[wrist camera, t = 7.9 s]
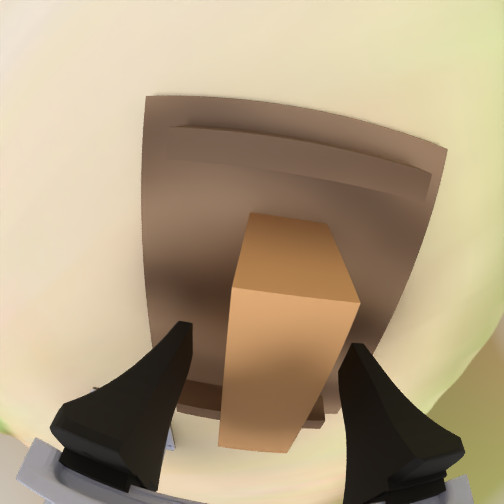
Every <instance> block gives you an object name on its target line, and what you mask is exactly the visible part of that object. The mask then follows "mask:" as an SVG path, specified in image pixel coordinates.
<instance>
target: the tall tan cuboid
mask: <svg viewBox="0 0 504 504" xmlns="http://www.w3.org/2000/svg"><path fill="white" fill-rule="evenodd" d="M359 306H360V300H359V298H358V295H357V293H356V290H355V288H354V285H353V283H352V280H351V278H350V275H349V273H348V271H347V268H346V266H345V263H344V261H343V259H342V256H341V254H340V252H339V250H338V247H337V245H336V243H335V240H334V238H333V236H332V234H331V232H330V229H329V227H328V225H327V224H325V223H319V222H313V221H307V220H300V219H294V218H287V217H280V216H273V215H266V214H259V213H252V212H250V215H249V219H248V223H247V227H246V231H245V235H244V239H243V243H242V247H241V252H240V256H239V260H238V264H237V268H236V272H235V276H234V281H233V285H232V291H231V301H230V312H229V322H228V333H227V344H226V355H225V367H224V378H223V390H222V402H221V415H220V428H219V441H218V446H219V447H226V448H233V449H241V450H250V451H261V452H274V453H287V452H288V450H289V449H290V447H291V445H292V444H293V442H294V440H295V439H296V437H297V435H298V433H299V432H300V430H301V428H302V426H303V425H304V423H305V421H306V419H307V418H308V416H309V414H310V412H311V410H312V408H313V406H314V405H315V403H316V401H317V399H318V397H319V395H320V393H321V391H322V389H323V387H324V385H325V383H326V381H327V379H328V377H329V375H330V373H331V371H332V369H333V367H334V364H335V362H336V360H337V358H338V356H339V354H340V351H341V349H342V347H343V345H344V342H345V340H346V338H347V335H348V333H349V331H350V328H351V326H352V323H353V321H354V319H355V316H356V314H357V311H358V309H359Z"/></svg>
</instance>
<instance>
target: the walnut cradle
mask: <svg viewBox="0 0 504 504" xmlns="http://www.w3.org/2000/svg"><path fill="white" fill-rule="evenodd" d="M447 150H448V149H446V148H443V147H441V146H438V145H436V144H433V143H430V142H428V141H425V140H422V139H419V138H416V137H414V136H411V135H408V134H405V133H402V132H398V131H395V130H392V129H389V128H386V127H382V126H379V125H375V124H372V123H368V122H364V121H360V120H356V119H353V118H348V117H344V116H340V115H336V114H331V113H326V112H322V111H317V110H311V109H306V108H301V107H295V106H289V105H282V104H275V103H268V102H260V101H252V100H242V99H231V98H218V97H200V96H146V102H145V113H144V126H143V143H142V171H141V216H142V244H143V262H144V275H145V287H146V298H147V307H148V316H149V324H150V332H151V339H152V346H153V348H154V347H155V346H156V345H157V344H158V343H159V342H160V341H161V340H162V339H163V338H164V337H165V335H166V334H167V333H168V332H169V331H170V330H171V329H172V328H173V326H174V325H175V324H176V323H177V322H178V321H184V322H190V323H193V356H192V360H191V365H190V369H189V373H188V376H187V378H186V381H185V384H184V386H183V389H182V392H181V394H180V397H179V400H178V402H177V405H176V407H177V412H181V413H185V414H190V415H195V416H200V417H206V418H211V419H217V420H220V415H221V402H222V390H223V378H224V367H225V355H226V344H227V333H228V322H229V312H230V301H231V291H232V285H233V281H234V276H235V272H236V268H237V264H238V260H239V256H240V252H241V247H242V243H243V239H244V235H245V231H246V227H247V223H248V219H249V215H250V212H252V213H259V214H266V215H273V216H280V217H287V218H294V219H300V220H307V221H313V222H319V223H325V224H327V225H328V227H329V229H330V232H331V234H332V236H333V238H334V240H335V243H336V245H337V247H338V250H339V252H340V254H341V256H342V259H343V261H344V263H345V266H346V268H347V271H348V273H349V275H350V278H351V280H352V283H353V285H354V288H355V290H356V293H357V295H358V298H359V300H360V306H359V309H358V311H357V314H356V316H355V319H354V321H353V323H352V326H351V328H350V331H349V333H348V335H347V338H346V340H345V342H344V345H343V347H342V349H341V351H340V354H339V356H338V358H337V360H336V362H335V364H334V367H333V369H332V371H331V373H330V375H329V377H328V379H327V381H326V383H325V385H324V387H323V389H322V391H321V393H320V395H319V397H318V399H317V401H316V403H315V405H314V406H313V408H312V410H311V412H310V414H309V416H308V418H307V419H306V421H305V423H304V425H303V426H302V428H313V429H320V428H321V426H322V425H323V423H324V422H325V414H337V413H338V411H339V410H340V408H341V407H342V406H341V400H340V395H339V385H338V370H339V368H340V366H341V364H342V362H343V360H344V358H345V356H346V354H347V352H348V350H349V347H350V345H351V343H364V345H365V346H366V347H367V349H368V350H369V351H370V353H371V354H372V355H373V353H374V351H375V349H376V347H377V345H378V343H379V341H380V340H381V338H382V336H383V334H384V332H385V330H386V328H387V326H388V323H389V321H390V319H391V317H392V315H393V313H394V311H395V309H396V306H397V304H398V302H399V300H400V298H401V295H402V293H403V291H404V288H405V286H406V283H407V281H408V279H409V276H410V274H411V271H412V269H413V266H414V263H415V261H416V258H417V255H418V253H419V250H420V247H421V244H422V242H423V239H424V236H425V233H426V230H427V227H428V223H429V220H430V217H431V214H432V210H433V207H434V204H435V200H436V196H437V193H438V189H439V185H440V181H441V177H442V173H443V169H444V164H445V160H446V155H447Z"/></svg>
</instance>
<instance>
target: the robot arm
mask: <svg viewBox="0 0 504 504" xmlns="http://www.w3.org/2000/svg"><path fill="white" fill-rule="evenodd" d="M192 356H193V323H190V322H184V321H178V322H177V323H176V324H175V325H174V326H173V328H172V329H171V330H170V331H169V332H168V333H167V334H166V335H165V337H164V338H163V339H162V340H161V341H160V342H159V343H158V344H157V345H156V346H155V347H154V348H153V349H152V350H151V351H150V352H149V353H148V354H146V355H145V356H144V357H143V358H142V359H141V360H140V361H139V362H137V363H136V364H135V365H134V366H133V367H131V368H130V369H129V370H127V371H126V372H125V373H123V374H122V375H120V376H119V377H117V378H116V379H114V380H113V381H111V382H110V383H108V384H106V385H104V386H103V387H101V388H99V389H97V390H96V389H92V390H91V393H89V394H87V395H85V396H82V397H80V398H77V399H75V400H72V401H70V402H67V403H64V404H63V405H62V407H61V408H60V409H59V411H58V412H57V414H56V416H55V418H54V420H53V422H52V424H51V426H50V430H51V432H52V434H53V435H54V436H55V437H56V439H57V440H58V441H59V442H60V443H61V444H62V445H63V446H64V447H65V448H64V450H63V452H61V451H59V450H58V449H56V448H55V447H53V446H51V445H49V444H47V443H46V442H44V441H42V440H40V439H39V438H35V439H34V441H33V443H32V445H31V447H30V449H29V451H28V453H27V455H26V457H25V459H24V461H23V463H22V465H21V468H20V470H19V472H18V474H17V476H16V479H17V480H18V481H19V482H20V483H22V484H23V485H25V486H26V487H28V488H29V489H31V490H32V491H34V492H35V493H37V494H38V495H40V496H42V497H43V498H45V501H44V504H207V503H201V502H196V501H191V500H186V499H181V498H177V497H173V496H169V495H165V494H161V493H157V492H156V491H157V490H158V484H159V478H160V472H161V466H162V462H163V458H164V455H165V451H166V449H168V450H172V451H173V450H175V444H174V440H173V436H172V432H171V427H170V424H171V420H172V417H173V413H174V410H175V408H176V405H177V402H178V400H179V397H180V394H181V392H182V389H183V386H184V384H185V381H186V378H187V376H188V373H189V369H190V365H191V360H192ZM338 385H339V395H340V400H341V406H342V412H343V418H344V424H345V430H346V445H347V465H346V482H345V492H344V499H343V504H474V502H473V497H472V493H471V489H470V485H469V481H468V477H467V475H466V474H465V475H462V476H459V477H456V478H454V479H451V480H449V481H447V482H444V478H445V477H446V476H447V473H446V469H448V468H449V467H451V466H452V465H453V464H455V463H456V462H457V461H459V460H460V459H461V458H462V457H463V456H464V454H465V450H464V447H463V444H462V441H461V438H460V437H458V436H457V435H455V434H453V433H451V432H449V431H448V430H446V429H444V428H443V427H441V426H440V425H438V424H437V423H435V422H434V421H433V420H431V419H430V418H429V417H427V416H426V415H425V414H424V413H422V412H421V411H420V410H419V409H418V408H417V407H416V406H414V405H413V404H412V403H411V402H410V401H409V400H408V399H407V398H406V397H405V396H404V394H403V393H402V392H401V391H400V390H399V389H398V388H397V387H396V385H395V384H394V383H393V382H392V381H391V379H390V378H389V377H388V376H387V374H386V373H385V372H384V370H383V369H382V368H381V366H380V365H379V364H378V362H377V361H376V360H375V358H374V357H373V355H372V354H371V353H370V351H369V350H368V349H367V347H366V346H365V345H364V343H351V345H350V347H349V350H348V352H347V354H346V356H345V358H344V360H343V362H342V364H341V366H340V368H339V370H338Z"/></svg>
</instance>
